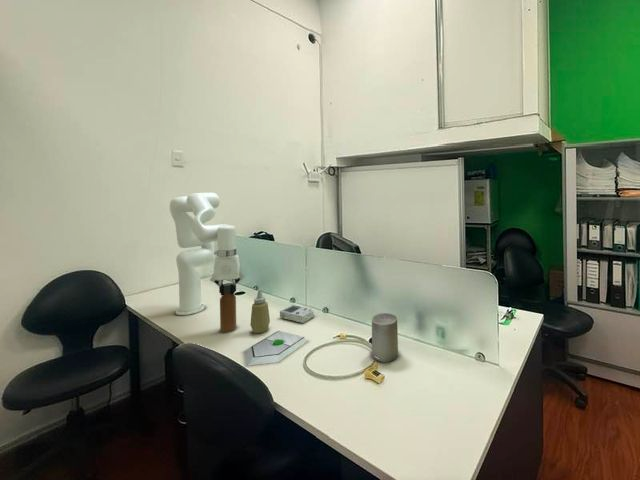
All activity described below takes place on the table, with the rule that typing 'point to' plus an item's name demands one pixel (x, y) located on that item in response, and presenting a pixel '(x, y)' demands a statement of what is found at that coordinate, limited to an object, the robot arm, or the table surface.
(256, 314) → the squeeze bottle
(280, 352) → the security device
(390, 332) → the pillar candle
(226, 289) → the cap
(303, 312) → the handheld gaming device
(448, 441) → the table surface
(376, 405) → the table surface
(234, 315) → the bottle
